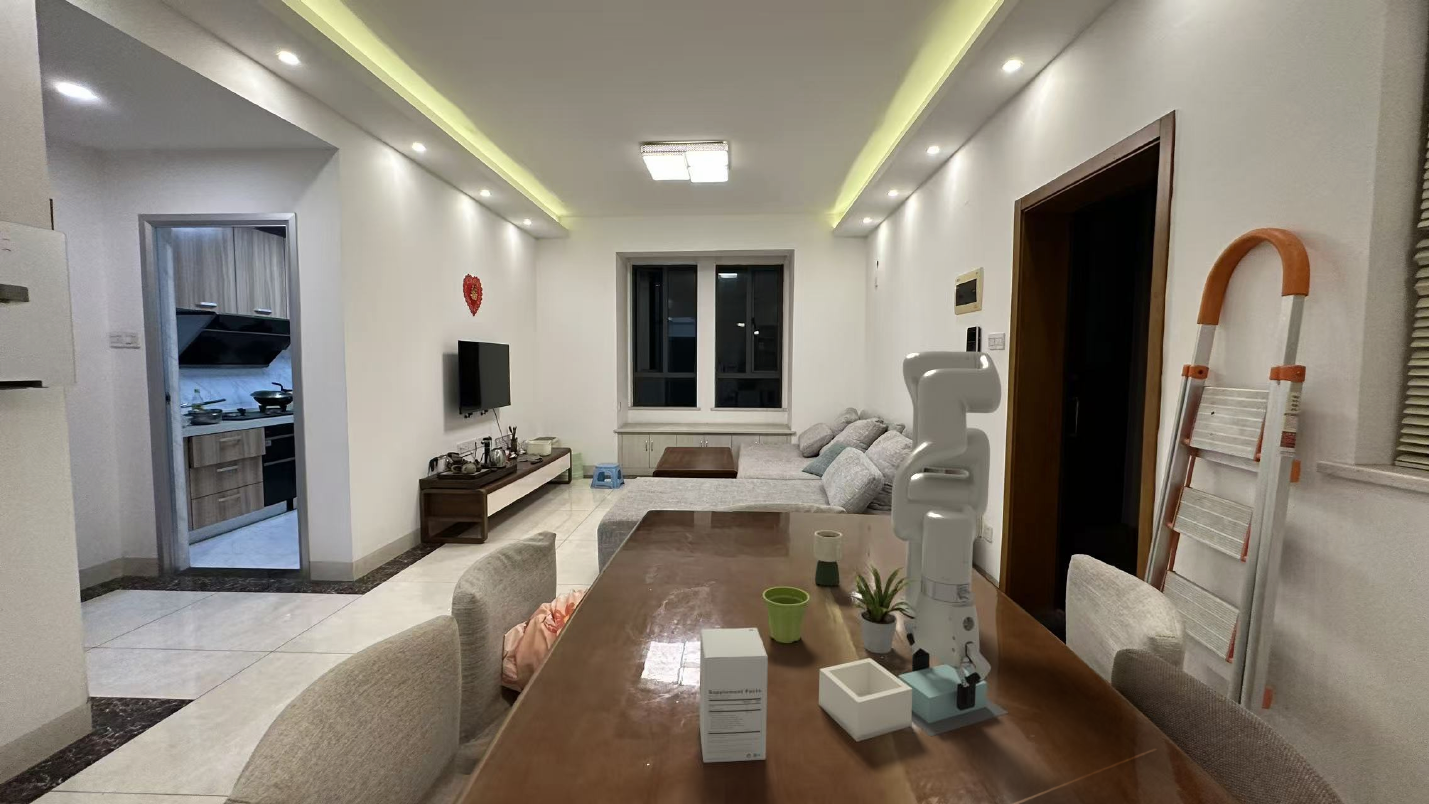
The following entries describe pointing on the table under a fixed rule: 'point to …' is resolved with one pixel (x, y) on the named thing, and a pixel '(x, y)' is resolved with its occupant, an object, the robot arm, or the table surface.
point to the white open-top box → (865, 698)
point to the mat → (958, 719)
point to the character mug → (827, 556)
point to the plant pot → (785, 612)
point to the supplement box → (733, 695)
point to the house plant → (878, 611)
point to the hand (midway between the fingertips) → (942, 691)
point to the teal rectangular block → (939, 692)
